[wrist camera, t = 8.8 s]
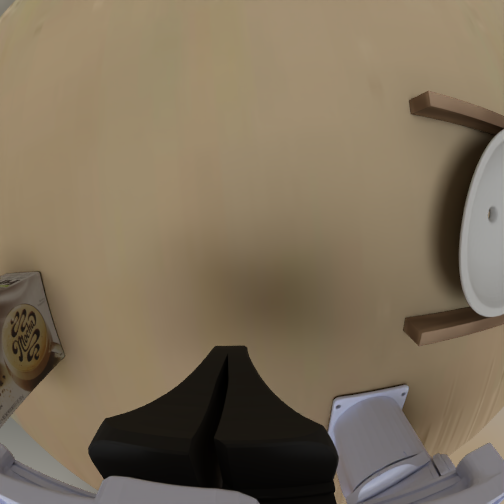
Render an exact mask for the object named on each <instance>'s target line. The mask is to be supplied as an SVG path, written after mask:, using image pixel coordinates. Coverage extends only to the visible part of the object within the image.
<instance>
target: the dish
mask: <svg viewBox="0 0 504 504" xmlns="http://www.w3.org/2000/svg"><path fill="white" fill-rule="evenodd" d="M489 210H490V217H489V219H488V211H489ZM459 273H460V280H461V285H462V290H463V293H464V296H465V298H466V300H467V302H468V304H469V305H470V306H471V308H472V309H473V310H474V311H475V312H476V313H478V314H480V315H482V316H486V317H496V316H500V315H502V314H504V129H503V130H502V131H500V132H499V133H498V134H497V135H496V136H495V137H494V138H493V139H492V140H491V141H490V143H489V144H488V145H487V147H486V149H485V150H484V152H483V154H482V156H481V158H480V160H479V162H478V164H477V166H476V169H475V172H474V174H473V177H472V180H471V183H470V187H469V190H468V194H467V198H466V202H465V207H464V212H463V217H462V224H461V231H460V241H459Z"/></svg>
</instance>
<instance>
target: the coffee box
mask: <svg viewBox="0 0 504 504" xmlns="http://www.w3.org/2000/svg"><path fill="white" fill-rule="evenodd" d="M64 356H65V355H64V353H63V350H62V347H61V344H60V342H59V339H58V336H57V333H56V330H55V327H54V324H53V321H52V317H51V314H50V311H49V307H48V304H47V300H46V297H45V293H44V289H43V285H42V281H41V277H40V273H39V272H24V273H10V274H4V275H2V276H0V428H1V426H2V425H3V424H4V423H5V422H6V421H7V419H8V418H9V417H10V416H11V415H12V414H13V412H14V411H15V410H16V409H17V408H18V407H19V405H20V404H21V403H22V402H23V401H24V400H25V399H26V397H27V396H28V395H29V394H30V393H31V392H32V391H33V389H34V388H35V387H36V386H37V385H38V384H39V383H40V382H41V381H42V380H43V379H44V378H45V377H46V375H47V374H48V373H49V372H50V371H51V370H52V369H53V368H54V367H55V366H56V365H57V364H58V363H59V362H60V361H61V360H62V359H63V358H64Z"/></svg>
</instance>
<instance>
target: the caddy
mask: <svg viewBox="0 0 504 504" xmlns="http://www.w3.org/2000/svg"><path fill="white" fill-rule="evenodd" d="M409 102H410V110H411V114H414V115H419V116H424V117H429V118H434V119H438V120H443V121H447V122H451V123H455V124H459V125H463V126H466V127H470V128H473V129H477V130H480V131H483V132H487V133H490V134H493V135H497V134H498V133H499V132H500V131H502V130H503V129H504V116H503V115H500V114H498V113H495V112H493V111H490V110H487V109H485V108H482V107H479V106H477V105H474V104H471V103H468V102H465V101H462V100H459V99H456V98H452V97H449V96H446V95H442V94H439V93H435V92H431V91H427V92H425V93H423V94H421V95H419V96H417V97H415V98H413V99H411V100H409ZM502 324H504V314H502V315H500V316H496V317H486V316H482V315H480V314H478V313H476V312H475V311H474V310H473V309H472V308H471V307H467V308H462V309H456V310H451V311H446V312H440V313H434V314H428V315H422V316H415V317H409V318H405V324H404V329H403V330H404V331H405V332H406V333H407V334H408V335H409V336H410V337H411V338H412V339H413V340H414V342H415V343H416V344H417V345H418V346H422V345H427V344H432V343H436V342H441V341H445V340H449V339H453V338H457V337H461V336H465V335H469V334H472V333H476V332H479V331H483V330H486V329H490V328H493V327H496V326H499V325H502Z"/></svg>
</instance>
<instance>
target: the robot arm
mask: <svg viewBox="0 0 504 504" xmlns="http://www.w3.org/2000/svg"><path fill="white" fill-rule="evenodd" d="M408 390H409V387H408V386H407V385H401V386H397V387H392V388H388V389H383V390H378V391H372V392H367V393H361V394H355V395H349V396H342V397H337V398H335V399H334V401H333V405H332V411H331V417H330V422H329V427H328V433H327V431H326V429H325V428H324V426H322V425H320V424H318V423H316V422H314V421H312V420H310V419H308V418H306V417H304V416H302V415H300V414H299V413H297V412H296V411H294V410H293V409H292V408H290V407H289V406H288V405H286V404H285V403H284V402H283V401H281V400H280V399H279V398H278V397H277V396H276V395H275V394H274V393H273V392H272V391H271V390H270V388H269V387H268V386H267V385H266V384H265V382H264V381H263V380H262V378H261V377H260V375H259V374H258V372H257V370H256V369H255V367H254V365H253V363H252V361H251V359H250V357H249V354H248V351H247V347H246V346H215V347H214V348H213V349H212V350H211V352H210V353H209V354H208V355H207V357H206V358H205V359H204V360H203V361H202V363H201V364H200V365H199V366H198V367H197V368H196V369H195V370H194V371H193V372H192V373H191V374H190V375H189V376H188V377H187V378H186V379H185V380H184V381H183V382H181V383H180V384H179V385H178V386H177V387H175V388H174V389H172V390H171V391H170V392H168V393H167V394H165V395H163V396H161V397H160V398H158V399H156V400H154V401H153V402H151V403H149V404H147V405H145V406H142V407H140V408H138V409H135V410H133V411H130V412H127V413H124V414H120V415H117V416H113V417H110V418H105V420H104V421H103V423H102V424H101V426H100V427H99V429H98V431H97V433H96V435H95V436H94V438H93V440H92V442H91V444H90V446H89V448H88V452H89V456H90V458H91V460H92V462H93V463H94V465H95V466H96V468H97V469H98V471H99V472H100V474H101V475H102V477H103V478H104V480H103V481H102V483H101V486H100V488H99V490H98V493H97V494H94V493H91V492H88V491H85V490H82V489H79V488H76V487H74V486H71V485H69V484H66V483H64V482H61V481H59V480H56V479H54V478H51V477H49V476H47V475H45V474H43V473H40V472H38V471H36V470H34V469H32V468H30V467H28V466H26V465H24V464H22V463H20V462H18V461H16V460H15V458H14V457H13V455H12V454H11V452H10V451H9V450H8V449H7V448H6V447H5V446H4V445H3V444H1V443H0V504H336V500H335V496H334V493H335V485H334V481H333V479H334V476H335V473H336V472H337V475H338V479H339V482H340V486H341V490H342V493H343V495H344V497H345V498H346V501H347V504H500V503H501V502H502V501H503V500H504V460H503V459H502V457H501V456H500V455H499V453H498V452H497V451H496V449H495V448H494V447H493V446H492V444H491V443H487V444H485V445H483V446H482V447H480V448H478V449H476V450H474V451H472V452H470V453H469V454H467V455H466V456H465V457H464V458H463V459H462V460H461V461H460V462H459V464H458V466H457V467H456V468H455V466H454V464H453V463H452V461H451V460H450V458H449V457H448V455H447V454H440V453H437V454H436V455H434V456H433V459H432V457H431V456H430V455H429V454H428V452H427V451H426V449H425V447H424V446H423V444H422V442H421V441H420V439H419V437H418V436H417V434H416V432H415V431H414V429H413V427H412V426H411V424H410V422H409V421H408V419H407V418H406V416H405V414H404V413H403V411H402V408H403V405H404V402H405V399H406V396H407V393H408ZM402 393H403V394H402ZM337 405H339V406H337Z"/></svg>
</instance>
